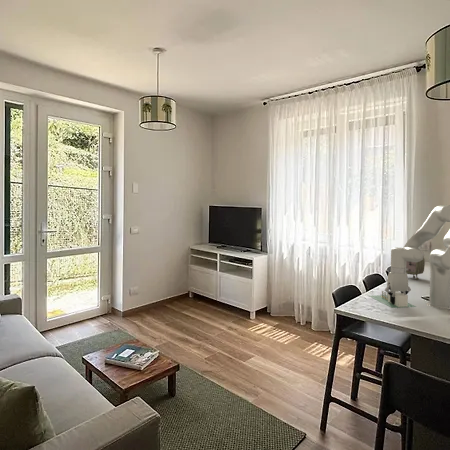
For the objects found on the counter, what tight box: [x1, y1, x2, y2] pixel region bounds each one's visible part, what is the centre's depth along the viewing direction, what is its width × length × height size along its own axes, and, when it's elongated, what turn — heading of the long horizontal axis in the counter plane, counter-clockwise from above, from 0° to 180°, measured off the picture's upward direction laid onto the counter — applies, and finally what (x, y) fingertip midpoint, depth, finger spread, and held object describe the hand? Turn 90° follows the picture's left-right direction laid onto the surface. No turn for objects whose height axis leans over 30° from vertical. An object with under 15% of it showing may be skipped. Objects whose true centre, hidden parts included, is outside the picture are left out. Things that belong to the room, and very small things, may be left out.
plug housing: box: [388, 291, 409, 308], centre depth 189 cm, size 5×10×6 cm, turn 6°
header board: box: [369, 290, 417, 309], centre depth 195 cm, size 14×24×5 cm, turn 6°
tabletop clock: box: [406, 257, 426, 281], centre depth 257 cm, size 14×9×25 cm, turn 28°
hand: (397, 302), depth 189 cm, fingers closed on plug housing, 4 cm apart
